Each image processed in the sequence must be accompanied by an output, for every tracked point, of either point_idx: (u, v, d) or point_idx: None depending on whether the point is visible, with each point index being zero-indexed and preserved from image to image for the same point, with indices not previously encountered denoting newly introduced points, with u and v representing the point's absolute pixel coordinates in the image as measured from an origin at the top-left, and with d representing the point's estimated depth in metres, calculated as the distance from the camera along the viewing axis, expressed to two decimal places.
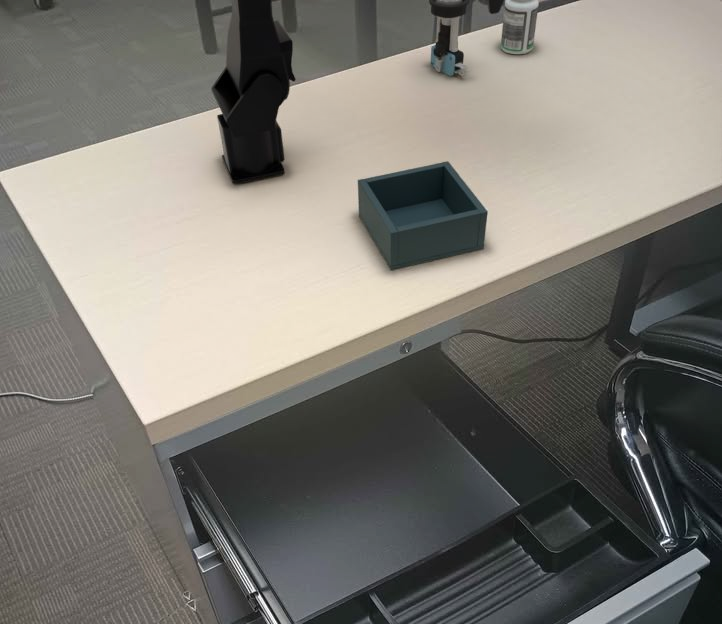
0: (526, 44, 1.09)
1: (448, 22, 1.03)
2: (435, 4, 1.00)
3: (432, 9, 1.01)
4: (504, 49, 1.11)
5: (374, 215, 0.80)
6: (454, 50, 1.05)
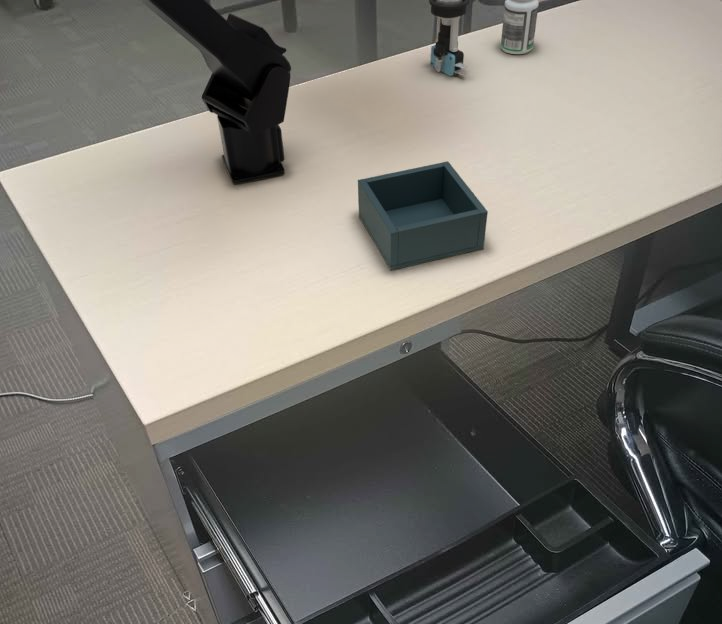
0: (526, 44, 1.09)
1: (448, 22, 1.03)
2: (435, 4, 1.00)
3: (432, 9, 1.01)
4: (504, 49, 1.11)
5: (374, 215, 0.80)
6: (454, 50, 1.05)
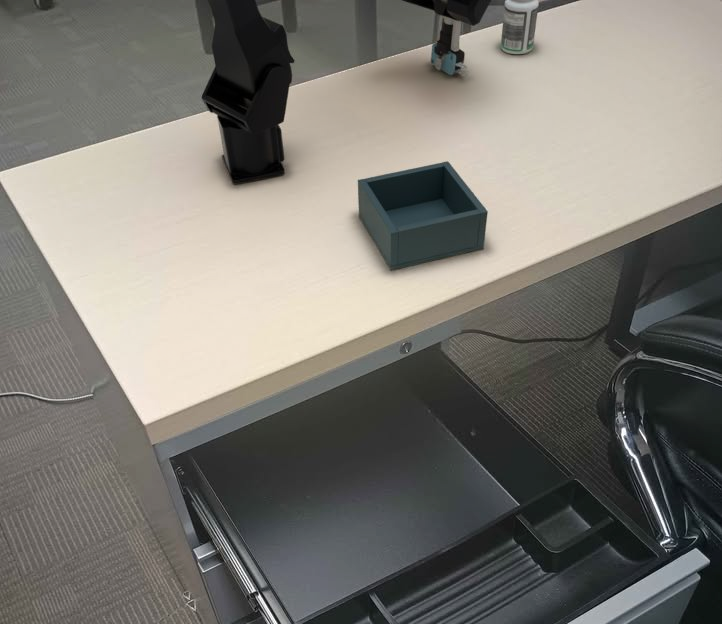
0: (526, 44, 1.09)
1: (451, 21, 1.02)
2: (439, 3, 1.00)
3: (435, 7, 1.01)
4: (504, 49, 1.11)
5: (374, 215, 0.80)
6: (455, 50, 1.04)
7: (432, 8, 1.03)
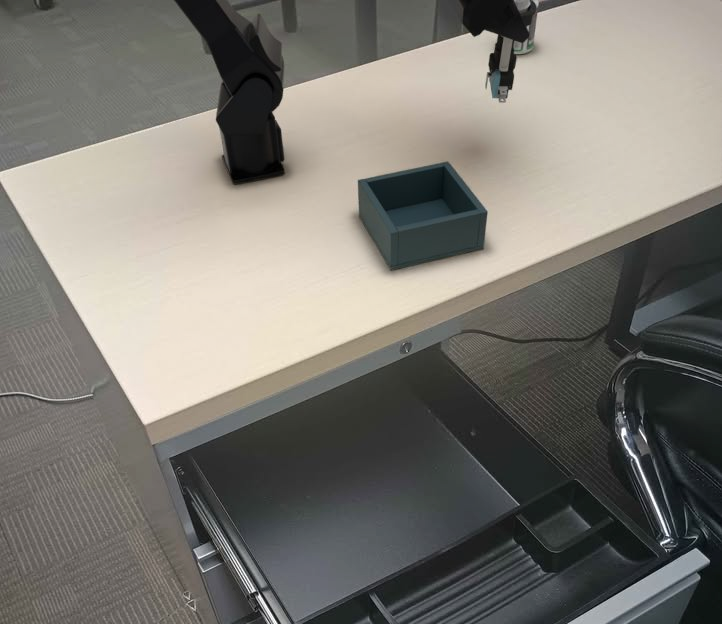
0: (526, 44, 1.09)
1: None
2: None
3: None
4: None
5: (374, 215, 0.80)
6: (501, 69, 0.85)
7: None
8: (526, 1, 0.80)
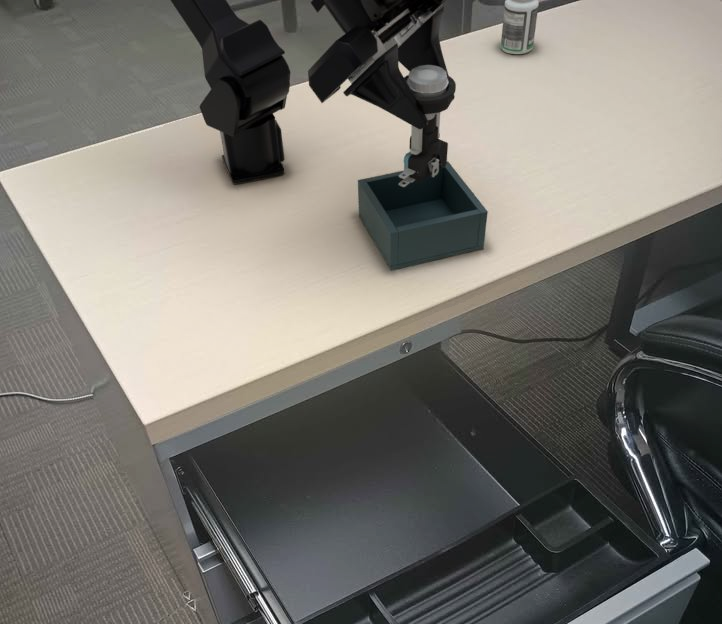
0: (526, 44, 1.09)
1: None
2: None
3: None
4: (504, 49, 1.11)
5: (374, 215, 0.80)
6: (410, 151, 0.76)
7: None
8: (432, 86, 0.70)
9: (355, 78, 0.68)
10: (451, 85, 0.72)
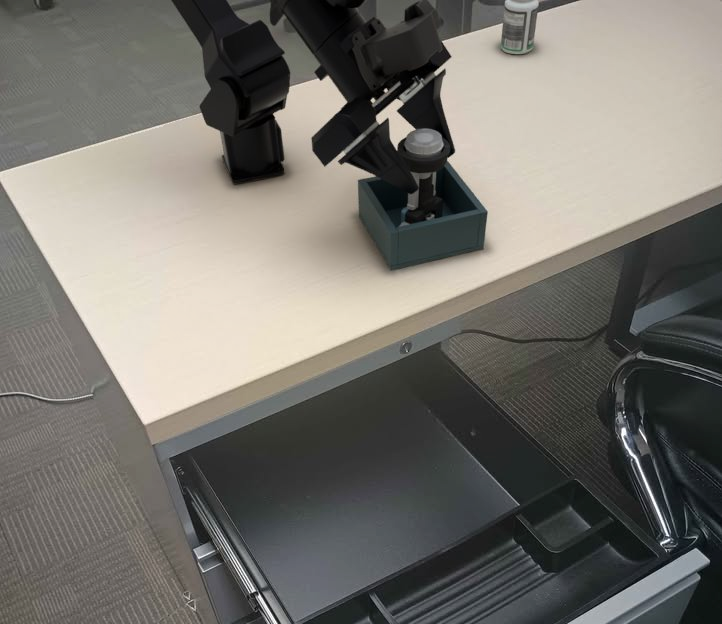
0: (526, 44, 1.09)
1: None
2: (402, 140, 0.78)
3: None
4: (504, 49, 1.11)
5: (374, 215, 0.80)
6: (407, 206, 0.81)
7: None
8: (427, 147, 0.75)
9: (348, 149, 0.72)
10: (446, 147, 0.77)
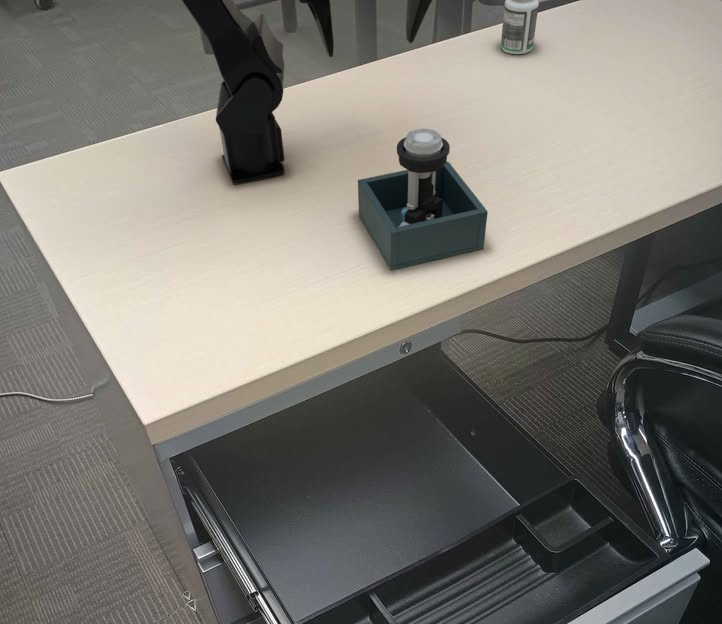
0: (526, 44, 1.09)
1: None
2: (402, 140, 0.78)
3: None
4: (504, 49, 1.11)
5: (374, 215, 0.80)
6: (407, 206, 0.81)
7: (332, 38, 0.80)
8: (427, 147, 0.75)
9: None
10: (445, 147, 0.77)
